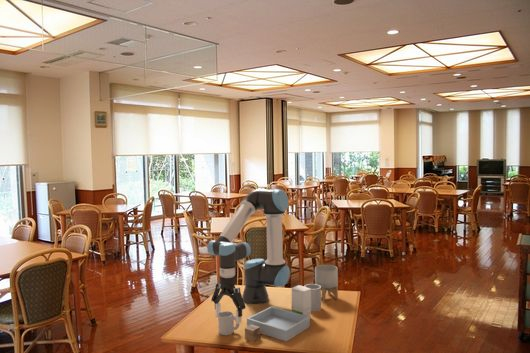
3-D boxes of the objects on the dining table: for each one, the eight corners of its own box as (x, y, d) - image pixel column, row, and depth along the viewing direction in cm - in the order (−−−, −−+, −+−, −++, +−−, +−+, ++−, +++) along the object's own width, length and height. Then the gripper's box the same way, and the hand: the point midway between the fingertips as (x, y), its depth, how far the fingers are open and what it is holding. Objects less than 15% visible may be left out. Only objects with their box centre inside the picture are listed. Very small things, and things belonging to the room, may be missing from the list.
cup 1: (220, 328, 210) (219, 311, 210) (240, 329, 210) (240, 311, 209) (217, 335, 203) (216, 317, 203) (238, 335, 203) (238, 317, 202)
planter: (334, 303, 241) (334, 272, 240) (312, 300, 247) (311, 269, 245) (340, 295, 253) (340, 265, 252) (319, 292, 258) (319, 263, 257)
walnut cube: (251, 334, 203) (251, 324, 203) (260, 337, 200) (259, 327, 200) (245, 338, 200) (244, 328, 199) (253, 341, 196) (253, 330, 196)
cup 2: (319, 312, 229) (319, 290, 228) (302, 310, 232) (302, 288, 231) (322, 306, 237) (322, 284, 236) (306, 304, 240) (306, 283, 239)
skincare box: (291, 317, 223) (290, 287, 222) (299, 313, 228) (298, 284, 227) (303, 321, 217) (303, 291, 216) (311, 317, 222) (311, 287, 221)
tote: (271, 315, 225) (271, 306, 225) (309, 326, 211) (309, 316, 210) (247, 328, 210) (246, 318, 210) (286, 341, 195) (286, 330, 195)
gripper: (203, 273, 209) (204, 316, 211) (241, 282, 194) (242, 328, 195) (214, 269, 215) (215, 311, 216) (252, 278, 200) (253, 323, 201)
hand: (228, 319), depth 206 cm, fingers open, 13 cm apart
